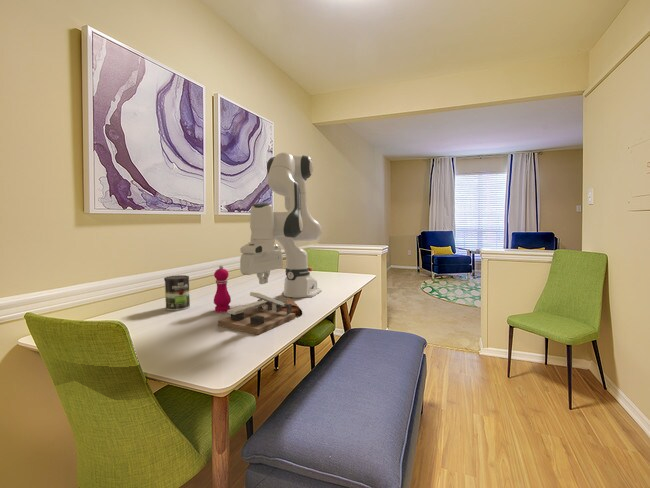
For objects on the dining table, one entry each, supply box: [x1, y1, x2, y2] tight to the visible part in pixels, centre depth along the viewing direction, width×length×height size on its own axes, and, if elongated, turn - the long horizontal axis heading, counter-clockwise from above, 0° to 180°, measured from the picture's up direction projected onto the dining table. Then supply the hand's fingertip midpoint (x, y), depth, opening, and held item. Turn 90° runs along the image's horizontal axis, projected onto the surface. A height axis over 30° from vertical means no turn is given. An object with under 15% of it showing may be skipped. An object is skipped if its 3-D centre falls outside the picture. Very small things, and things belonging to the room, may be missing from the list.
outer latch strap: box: [249, 291, 287, 307], centre depth 132 cm, size 19×4×1 cm, turn 150°
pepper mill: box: [213, 264, 232, 313], centre depth 150 cm, size 7×7×20 cm
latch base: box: [217, 298, 296, 336], centre depth 133 cm, size 22×20×6 cm
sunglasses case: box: [281, 297, 303, 317], centre depth 149 cm, size 18×7×7 cm, turn 19°
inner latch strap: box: [226, 300, 268, 315], centre depth 136 cm, size 19×4×1 cm, turn 149°
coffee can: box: [164, 274, 191, 312], centre depth 155 cm, size 10×10×14 cm
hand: (263, 283), depth 128 cm, fingers closed
